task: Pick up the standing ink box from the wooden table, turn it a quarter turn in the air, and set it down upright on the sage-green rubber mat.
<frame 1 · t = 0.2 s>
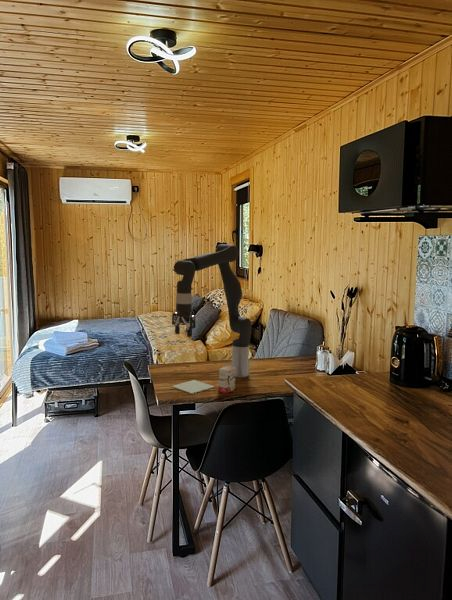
hand: (183, 335, 226), 29 cm above the table, fingers open, 8 cm apart
ink box: (226, 391, 236), on the table
mat: (193, 387, 239), on the table
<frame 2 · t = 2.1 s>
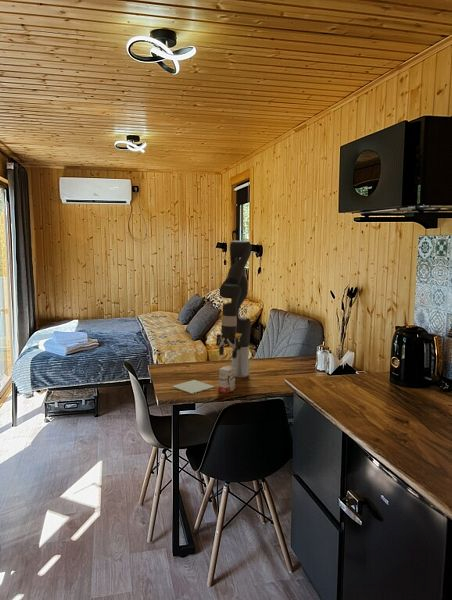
hand: (227, 356, 233), 18 cm above the table, fingers open, 8 cm apart
nothing on the table moved.
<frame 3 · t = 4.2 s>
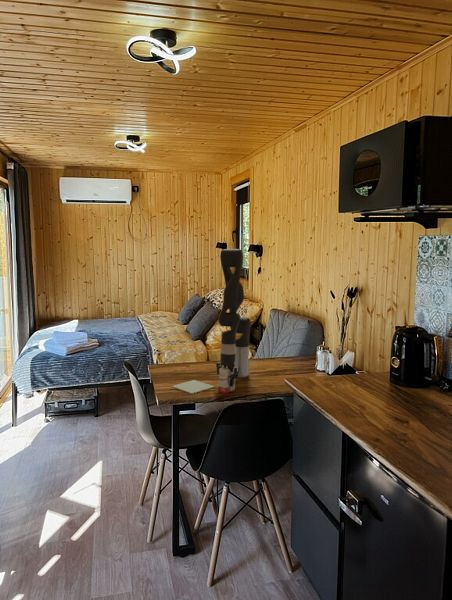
hand: (226, 384, 235), 3 cm above the table, fingers closed on ink box, 5 cm apart
ink box: (226, 390, 236), on the table, touching gripper
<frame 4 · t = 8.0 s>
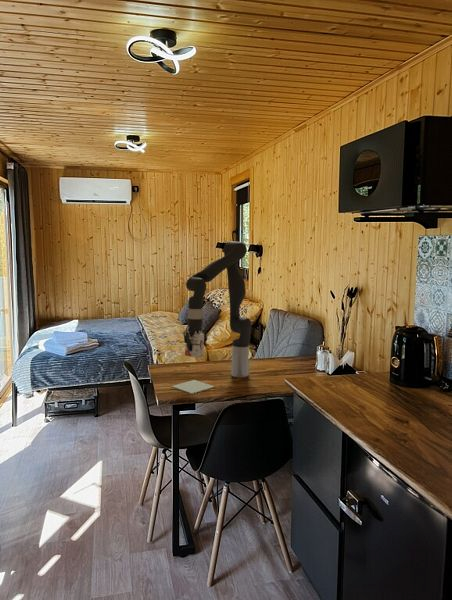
hand: (194, 350, 236), 19 cm above the table, fingers closed on ink box, 5 cm apart
ink box: (194, 356, 237), point 16 cm above the table, touching gripper
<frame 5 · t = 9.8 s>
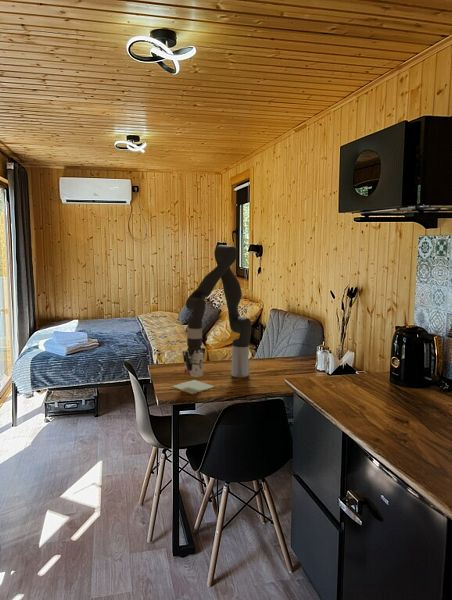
hand: (193, 369, 238), 10 cm above the table, fingers closed on ink box, 5 cm apart
ink box: (193, 375, 238), point 6 cm above the table, touching gripper
when the fingers open (5 cm above the table, at t = 11.6 s): ink box drops 1 cm, resting on mat.
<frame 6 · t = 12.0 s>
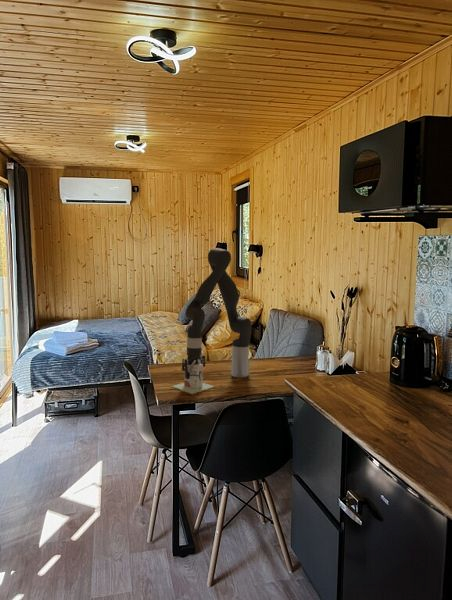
hand: (193, 377, 238), 5 cm above the table, fingers open, 8 cm apart
ink box: (193, 386, 239), resting on mat
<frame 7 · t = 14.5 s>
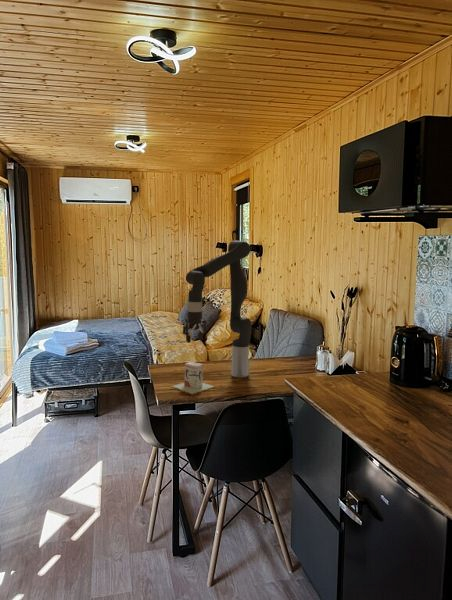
hand: (194, 341, 241), 23 cm above the table, fingers open, 8 cm apart
nothing on the table moved.
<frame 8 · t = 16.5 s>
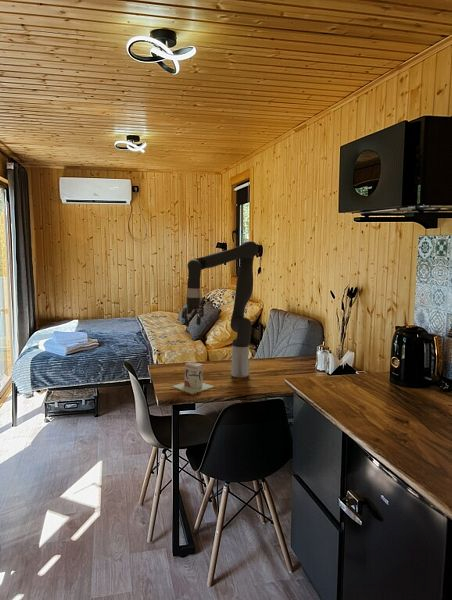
hand: (192, 325, 256), 28 cm above the table, fingers open, 8 cm apart
nothing on the table moved.
at the end: ink box inside the target area on the mat (0.1 cm from its centre), point 0.4 cm above the mat's base; ink box tilted 0°; ink box touching mat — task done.
